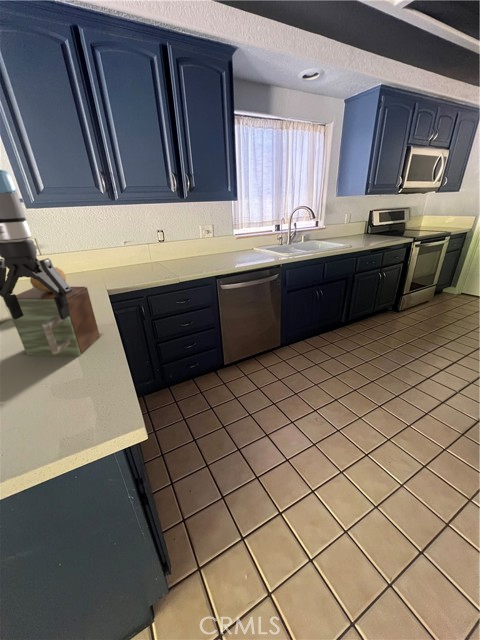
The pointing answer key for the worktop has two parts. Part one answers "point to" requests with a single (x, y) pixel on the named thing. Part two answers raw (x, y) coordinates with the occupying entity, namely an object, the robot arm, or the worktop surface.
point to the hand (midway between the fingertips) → (42, 317)
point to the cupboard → (74, 313)
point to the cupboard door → (45, 329)
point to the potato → (40, 286)
